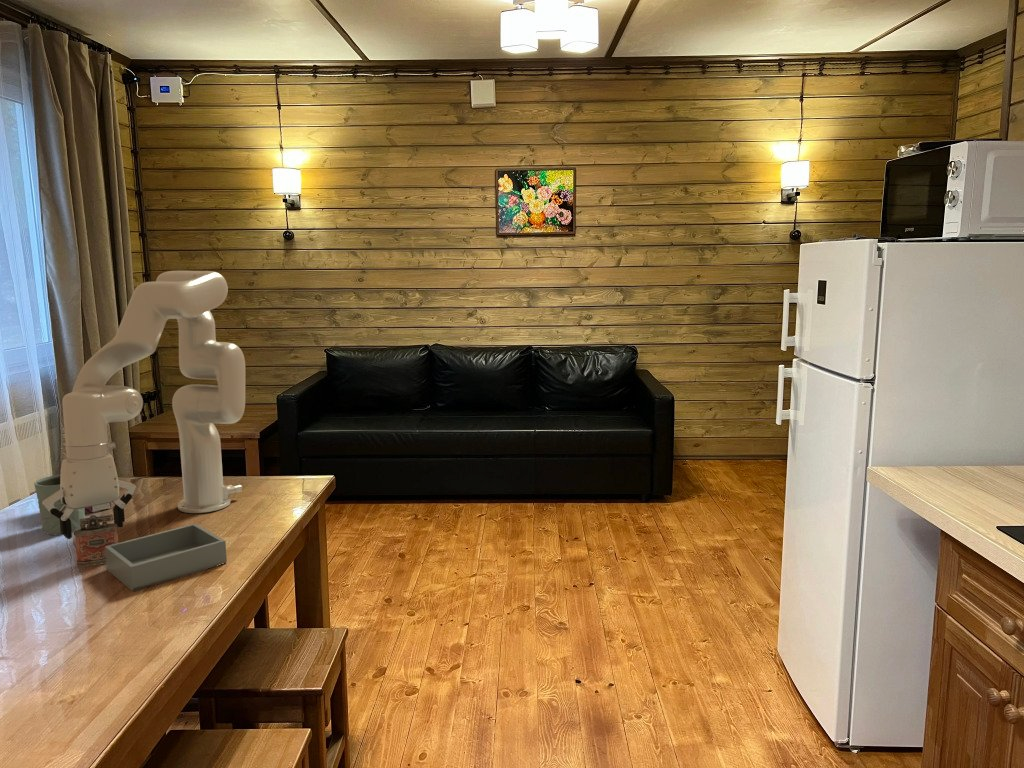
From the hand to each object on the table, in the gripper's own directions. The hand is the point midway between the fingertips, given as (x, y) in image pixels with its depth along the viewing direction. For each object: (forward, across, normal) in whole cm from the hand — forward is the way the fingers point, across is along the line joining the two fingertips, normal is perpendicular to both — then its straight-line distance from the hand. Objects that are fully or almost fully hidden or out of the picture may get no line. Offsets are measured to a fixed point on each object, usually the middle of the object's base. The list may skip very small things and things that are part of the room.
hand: (93, 531), depth 155 cm
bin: (+7, -10, +13) cm, 17 cm away
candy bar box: (+6, -12, -39) cm, 42 cm away
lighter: (+7, -1, 0) cm, 7 cm away
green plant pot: (+7, -2, -27) cm, 28 cm away
